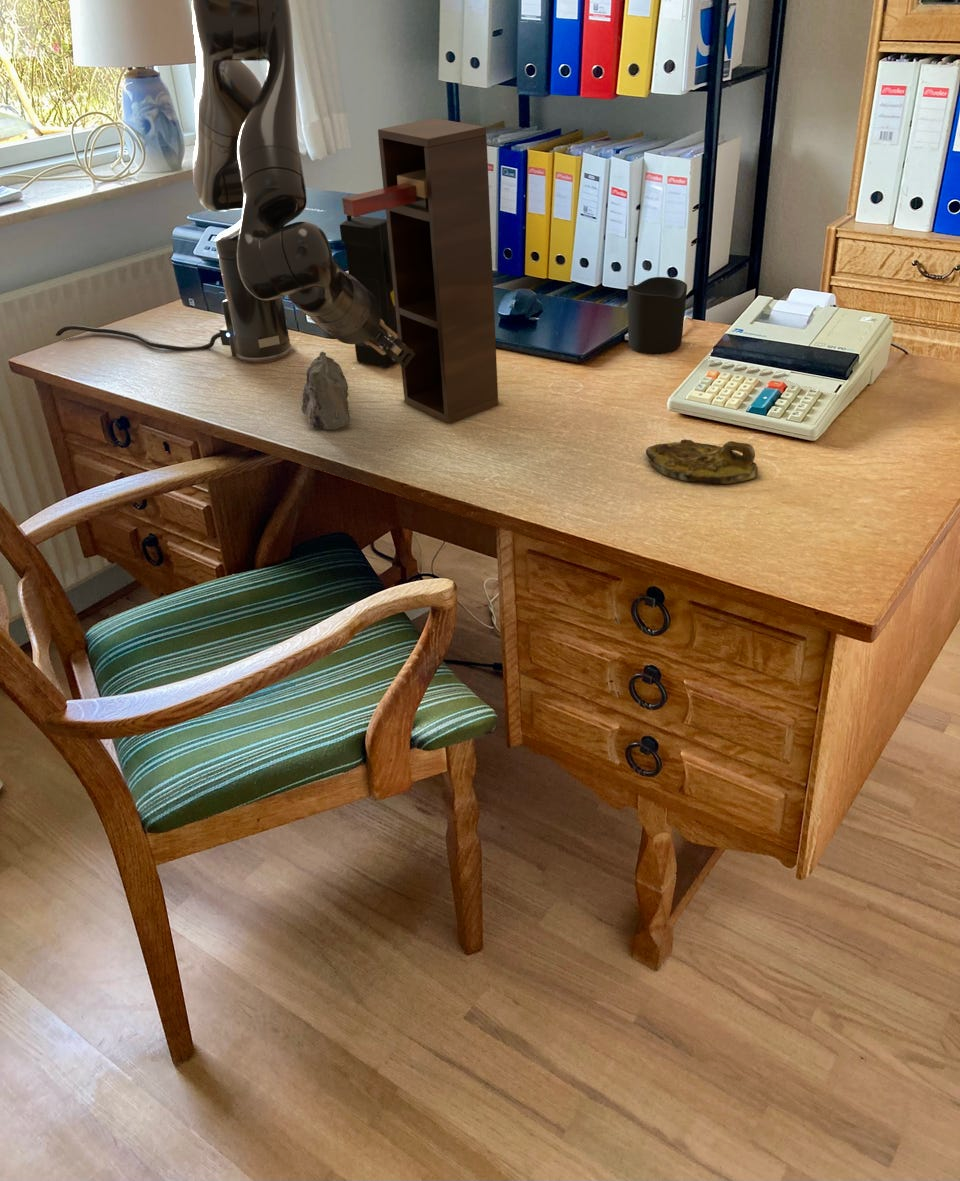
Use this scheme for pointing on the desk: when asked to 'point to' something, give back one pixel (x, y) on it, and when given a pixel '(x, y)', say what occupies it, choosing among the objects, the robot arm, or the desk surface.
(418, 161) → the shelf
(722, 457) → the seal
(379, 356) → the portable radio
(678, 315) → the pen holder
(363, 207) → the brush
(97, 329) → the robot arm
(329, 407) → the mineral rock
